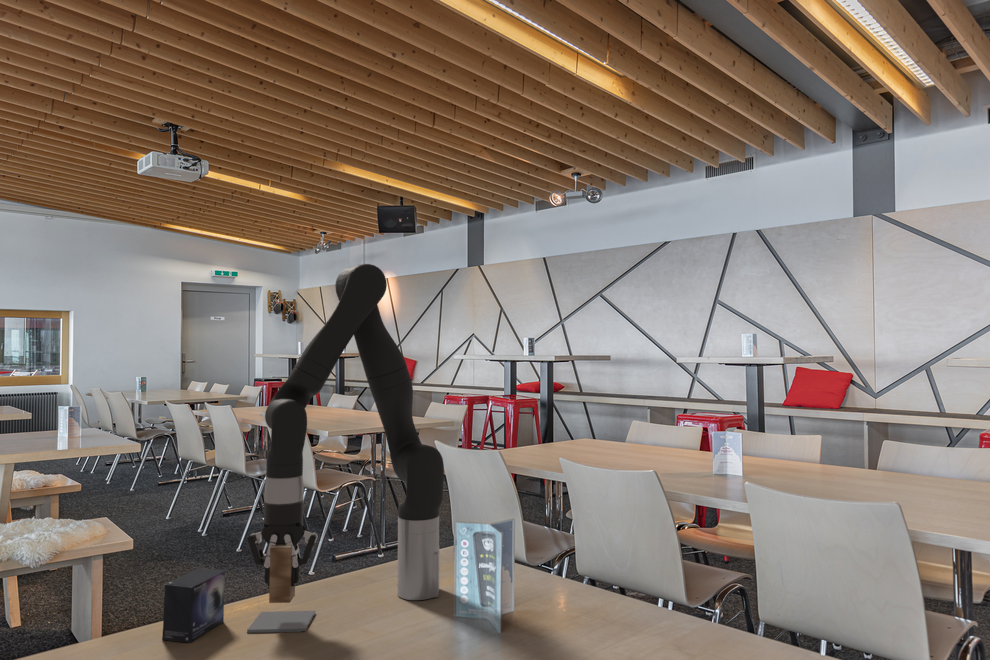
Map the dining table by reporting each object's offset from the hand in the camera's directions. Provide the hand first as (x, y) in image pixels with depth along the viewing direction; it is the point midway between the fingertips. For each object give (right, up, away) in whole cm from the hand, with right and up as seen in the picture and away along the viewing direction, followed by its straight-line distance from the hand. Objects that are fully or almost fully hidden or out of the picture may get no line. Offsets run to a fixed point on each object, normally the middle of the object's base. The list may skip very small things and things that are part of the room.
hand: (282, 584), depth 132 cm
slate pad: (0, -8, 0) cm, 8 cm away
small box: (-16, -8, -4) cm, 18 cm away
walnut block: (0, -3, 0) cm, 3 cm away
